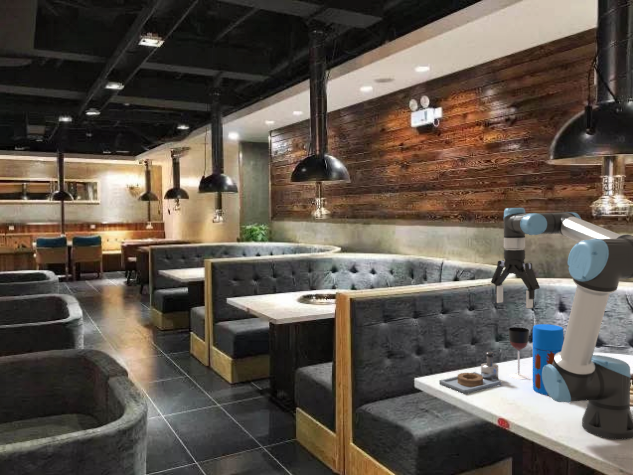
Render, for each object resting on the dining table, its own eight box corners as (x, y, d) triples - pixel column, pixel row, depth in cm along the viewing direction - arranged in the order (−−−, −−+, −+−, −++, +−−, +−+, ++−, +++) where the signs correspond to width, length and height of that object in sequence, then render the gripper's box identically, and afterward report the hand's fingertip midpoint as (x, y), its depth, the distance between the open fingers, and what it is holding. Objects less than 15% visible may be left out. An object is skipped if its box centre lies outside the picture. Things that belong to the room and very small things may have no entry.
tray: (500, 384, 212) (500, 381, 212) (464, 394, 202) (464, 390, 202) (474, 375, 224) (474, 371, 224) (439, 384, 214) (439, 380, 214)
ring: (483, 387, 207) (483, 381, 207) (457, 385, 209) (457, 379, 209) (482, 379, 216) (482, 373, 216) (457, 378, 219) (457, 372, 219)
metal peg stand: (499, 382, 214) (499, 355, 213) (481, 381, 216) (481, 354, 215) (498, 377, 221) (498, 351, 220) (480, 376, 223) (480, 350, 222)
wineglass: (509, 379, 219) (510, 331, 218) (507, 372, 227) (507, 326, 226) (530, 380, 217) (530, 332, 216) (527, 373, 225) (527, 327, 224)
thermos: (566, 396, 198) (566, 330, 196) (535, 394, 200) (536, 330, 198) (558, 386, 208) (559, 324, 207) (530, 385, 211) (530, 323, 209)
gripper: (550, 250, 188) (549, 309, 189) (495, 246, 209) (495, 299, 211) (536, 251, 184) (536, 311, 185) (481, 247, 206) (481, 301, 207)
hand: (514, 305), depth 198 cm, fingers open, 13 cm apart
